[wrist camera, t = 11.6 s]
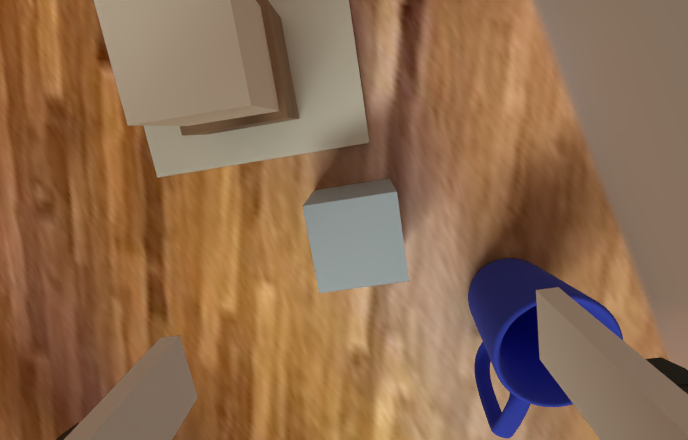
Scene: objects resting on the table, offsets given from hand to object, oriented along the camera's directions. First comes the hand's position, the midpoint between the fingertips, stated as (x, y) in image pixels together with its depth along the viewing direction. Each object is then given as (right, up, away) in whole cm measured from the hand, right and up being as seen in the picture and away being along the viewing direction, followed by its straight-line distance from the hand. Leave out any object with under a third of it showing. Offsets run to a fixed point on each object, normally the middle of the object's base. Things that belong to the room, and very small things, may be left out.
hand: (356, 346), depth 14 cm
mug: (+13, -3, +21) cm, 25 cm away
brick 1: (-8, +15, +11) cm, 20 cm away
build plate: (-8, +16, +17) cm, 25 cm away
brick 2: (+1, +5, +20) cm, 20 cm away
